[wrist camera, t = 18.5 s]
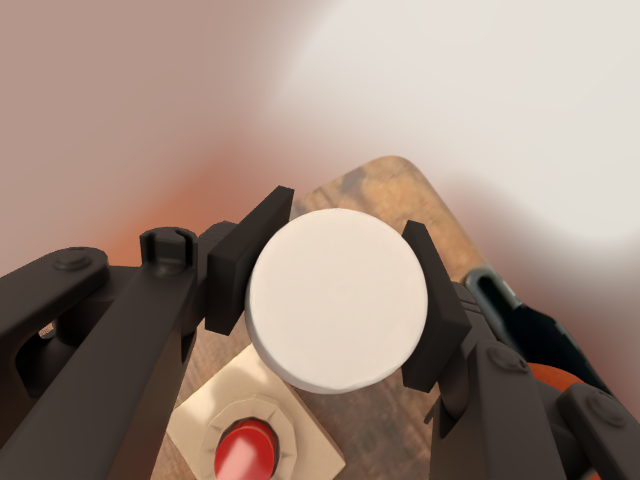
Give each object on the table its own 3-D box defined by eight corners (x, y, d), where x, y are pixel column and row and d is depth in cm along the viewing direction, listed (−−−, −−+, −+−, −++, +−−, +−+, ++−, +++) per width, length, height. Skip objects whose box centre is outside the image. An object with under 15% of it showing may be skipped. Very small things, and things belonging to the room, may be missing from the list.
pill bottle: (260, 354, 15) (177, 404, 5) (282, 256, 16) (248, 160, 7) (361, 373, 15) (460, 456, 5) (373, 272, 16) (465, 199, 7)
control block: (172, 414, 24) (147, 430, 20) (256, 340, 26) (247, 343, 22) (258, 544, 22) (248, 591, 18) (342, 452, 24) (350, 476, 20)
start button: (210, 449, 20) (201, 459, 19) (254, 407, 21) (249, 414, 20) (243, 498, 20) (237, 514, 18) (287, 452, 21) (286, 464, 19)
